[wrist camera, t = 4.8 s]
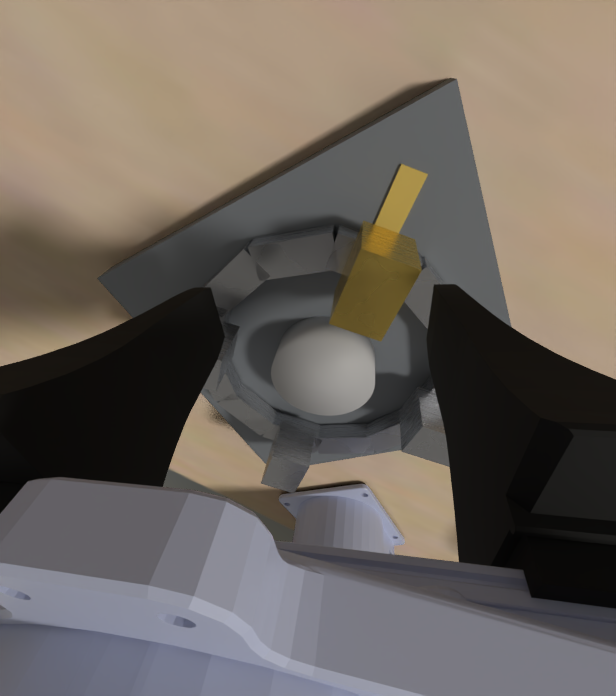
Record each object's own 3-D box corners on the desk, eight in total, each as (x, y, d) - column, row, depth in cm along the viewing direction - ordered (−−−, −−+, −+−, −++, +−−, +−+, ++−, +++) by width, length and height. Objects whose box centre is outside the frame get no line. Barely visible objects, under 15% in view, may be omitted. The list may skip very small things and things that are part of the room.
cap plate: (526, 411, 20) (545, 456, 18) (275, 457, 27) (266, 494, 24) (450, 77, 12) (468, 81, 9) (111, 267, 18) (72, 296, 16)
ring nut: (564, 285, 14) (609, 337, 11) (396, 472, 23) (398, 525, 21) (198, 150, 13) (151, 172, 10) (177, 403, 22) (150, 449, 20)
